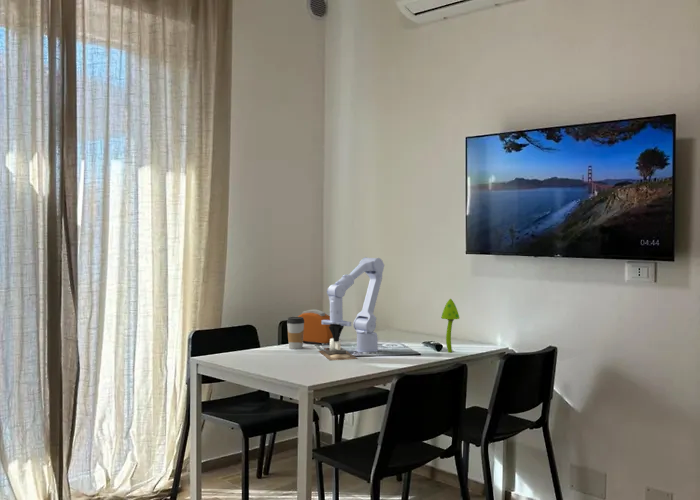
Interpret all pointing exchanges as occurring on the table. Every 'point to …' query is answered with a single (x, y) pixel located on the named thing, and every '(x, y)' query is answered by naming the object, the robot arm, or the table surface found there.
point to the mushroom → (449, 320)
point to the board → (337, 359)
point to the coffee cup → (295, 332)
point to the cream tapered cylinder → (335, 345)
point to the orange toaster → (316, 327)
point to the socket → (334, 351)
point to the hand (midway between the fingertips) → (336, 341)
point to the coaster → (340, 356)
